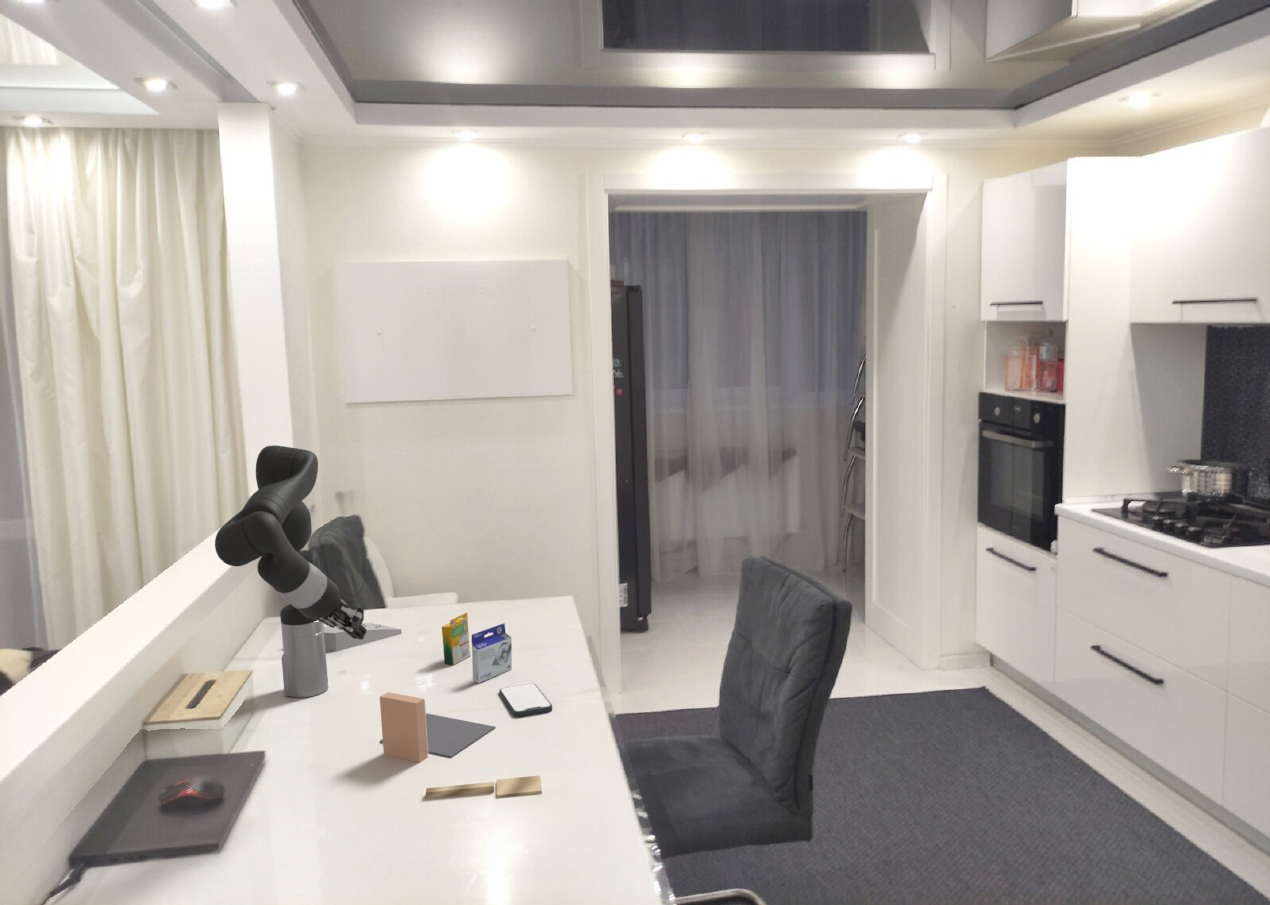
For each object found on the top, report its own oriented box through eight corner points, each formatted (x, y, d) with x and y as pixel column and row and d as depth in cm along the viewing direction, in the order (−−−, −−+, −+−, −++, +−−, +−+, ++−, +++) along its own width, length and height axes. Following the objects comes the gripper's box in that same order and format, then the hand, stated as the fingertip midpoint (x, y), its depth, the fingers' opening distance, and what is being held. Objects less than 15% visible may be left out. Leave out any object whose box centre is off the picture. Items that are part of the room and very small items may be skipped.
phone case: (497, 695, 222) (514, 720, 207) (497, 688, 221) (513, 712, 207) (535, 689, 225) (554, 713, 210) (535, 682, 225) (553, 706, 210)
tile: (383, 754, 191) (379, 696, 190) (393, 748, 194) (389, 691, 192) (419, 762, 187) (416, 703, 186) (429, 756, 190) (426, 697, 188)
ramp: (398, 626, 274) (397, 608, 273) (406, 643, 259) (404, 623, 258) (293, 640, 264) (292, 621, 263) (295, 659, 249) (293, 639, 249)
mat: (379, 742, 197) (379, 740, 197) (426, 714, 210) (426, 713, 210) (451, 757, 189) (451, 756, 189) (495, 728, 202) (495, 726, 202)
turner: (425, 804, 171) (424, 798, 171) (427, 788, 177) (427, 782, 176) (541, 793, 174) (541, 786, 173) (540, 777, 179) (539, 771, 179)
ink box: (479, 684, 227) (476, 636, 225) (472, 682, 228) (469, 635, 227) (513, 669, 236) (511, 623, 234) (506, 667, 237) (504, 622, 236)
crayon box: (460, 654, 248) (458, 610, 246) (470, 656, 246) (468, 612, 245) (443, 664, 241) (440, 619, 239) (453, 665, 240) (450, 620, 238)
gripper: (345, 574, 170) (396, 621, 183) (289, 567, 176) (342, 613, 189) (326, 611, 166) (379, 657, 179) (269, 603, 172) (325, 648, 185)
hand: (360, 634), depth 184 cm, fingers closed
